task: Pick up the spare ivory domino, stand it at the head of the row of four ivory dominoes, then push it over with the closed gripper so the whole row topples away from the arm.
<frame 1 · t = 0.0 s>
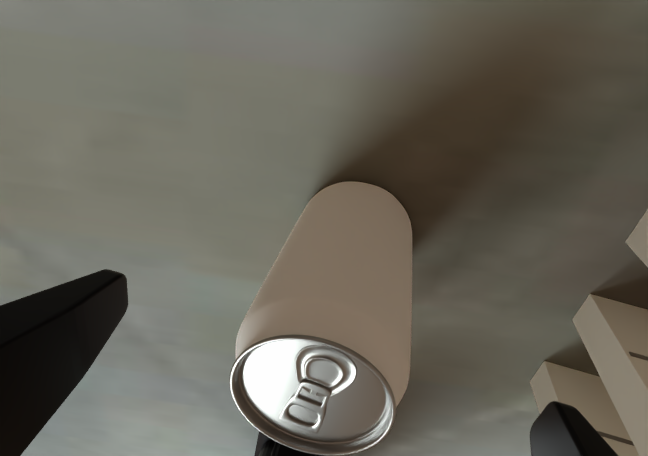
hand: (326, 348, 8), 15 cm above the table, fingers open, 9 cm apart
domino 2: (576, 382, 26), on the table
domino 3: (625, 319, 23), on the table
can: (356, 228, 24), on the table
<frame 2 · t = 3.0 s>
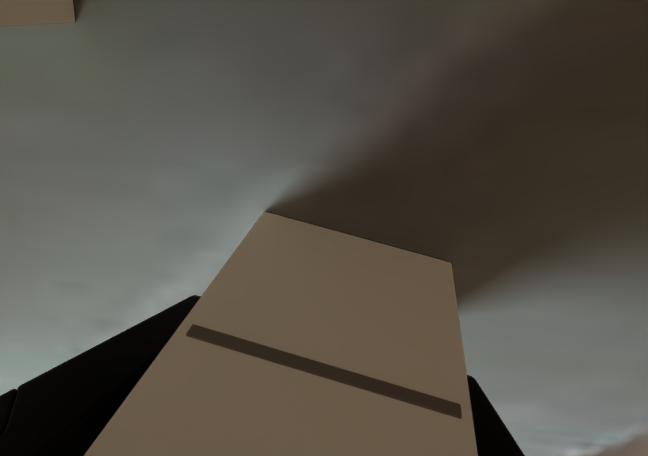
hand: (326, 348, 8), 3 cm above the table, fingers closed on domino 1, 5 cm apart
domino 1: (347, 267, 11), on the table, touching gripper
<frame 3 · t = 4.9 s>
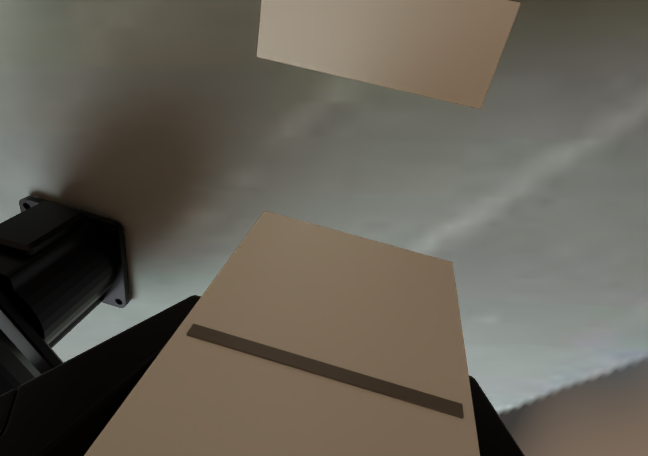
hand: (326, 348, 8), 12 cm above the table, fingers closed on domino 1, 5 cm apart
domino 2: (399, 17, 16), on the table
domino 1: (348, 266, 11), point 9 cm above the table, touching gripper
when the fingers open (4 cm above the table, at t = 7.0 s): domino 1 moves 1 cm, on the table.
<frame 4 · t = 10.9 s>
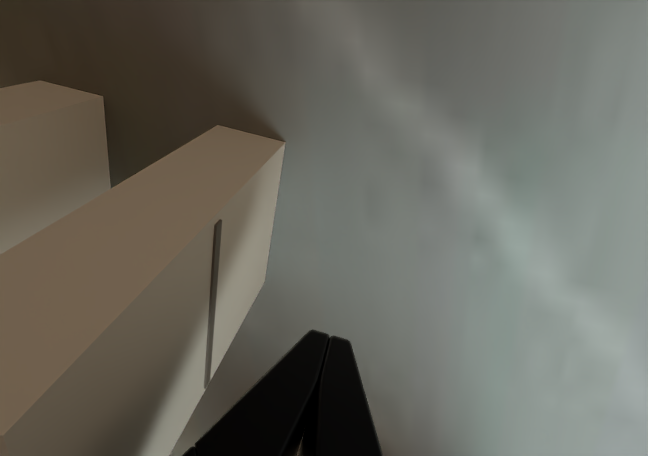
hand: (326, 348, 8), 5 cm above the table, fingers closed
domino 2: (81, 167, 13), on the table
domino 1: (243, 210, 13), on the table, touching gripper
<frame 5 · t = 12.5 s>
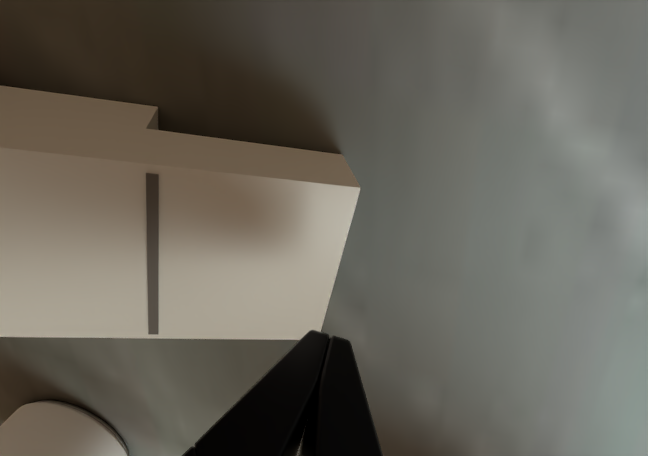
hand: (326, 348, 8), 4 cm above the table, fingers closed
domino 2: (153, 201, 12), point 1 cm above the table, tilted 68°, touching domino 1, domino 3
can: (80, 435, 21), on the table
domino 1: (329, 250, 12), point 1 cm above the table, tilted 68°, touching domino 2
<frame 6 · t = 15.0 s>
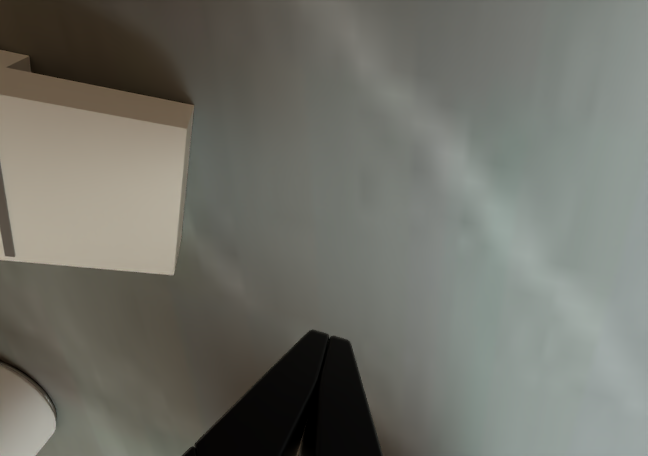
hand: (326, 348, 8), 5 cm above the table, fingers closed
domino 2: (24, 143, 13), point 1 cm above the table, tilted 69°, touching domino 1, domino 3
can: (10, 392, 22), on the table
domino 1: (183, 193, 13), point 1 cm above the table, tilted 69°, touching domino 2
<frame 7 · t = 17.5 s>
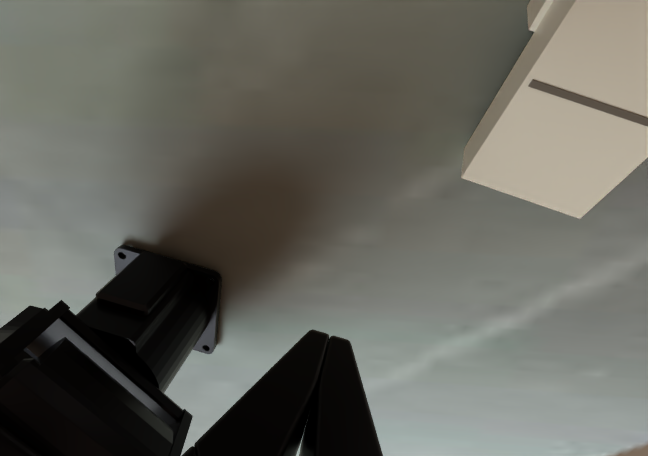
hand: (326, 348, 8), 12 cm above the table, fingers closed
domino 2: (596, 40, 14), point 1 cm above the table, tilted 69°, touching domino 1, domino 3
domino 1: (519, 181, 17), point 1 cm above the table, tilted 69°, touching domino 2
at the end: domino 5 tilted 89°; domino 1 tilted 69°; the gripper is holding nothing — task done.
